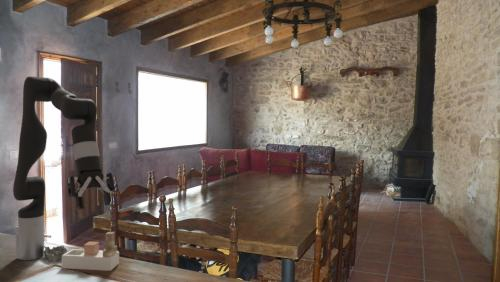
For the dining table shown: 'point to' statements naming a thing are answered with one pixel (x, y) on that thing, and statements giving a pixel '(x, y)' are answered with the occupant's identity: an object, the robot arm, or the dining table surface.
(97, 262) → the sweep board
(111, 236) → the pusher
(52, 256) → the grey green rough clump
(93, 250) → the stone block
